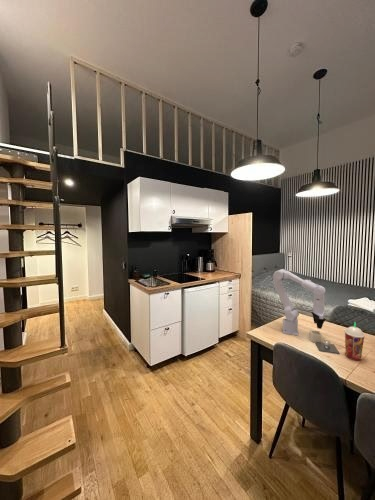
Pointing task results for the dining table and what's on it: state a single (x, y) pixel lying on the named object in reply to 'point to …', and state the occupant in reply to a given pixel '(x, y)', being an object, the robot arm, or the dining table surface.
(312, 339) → the collar
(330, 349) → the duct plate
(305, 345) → the dining table surface
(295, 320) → the robot arm
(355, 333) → the smoothie
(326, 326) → the dining table surface
